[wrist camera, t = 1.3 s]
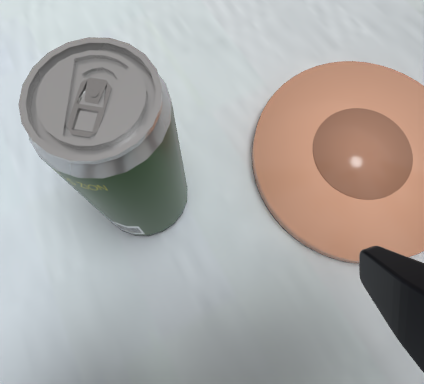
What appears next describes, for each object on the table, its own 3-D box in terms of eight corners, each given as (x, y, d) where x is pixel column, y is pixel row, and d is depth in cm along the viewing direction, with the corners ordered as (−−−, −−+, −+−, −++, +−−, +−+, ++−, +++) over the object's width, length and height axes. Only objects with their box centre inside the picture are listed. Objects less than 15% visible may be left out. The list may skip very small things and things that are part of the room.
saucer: (389, 312, 22) (400, 312, 21) (209, 171, 25) (209, 164, 23) (496, 148, 25) (511, 139, 24) (327, 39, 28) (333, 27, 27)
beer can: (179, 244, 23) (149, 181, 12) (96, 230, 23) (-12, 153, 12) (195, 166, 25) (182, 43, 13) (117, 153, 25) (40, 22, 14)
